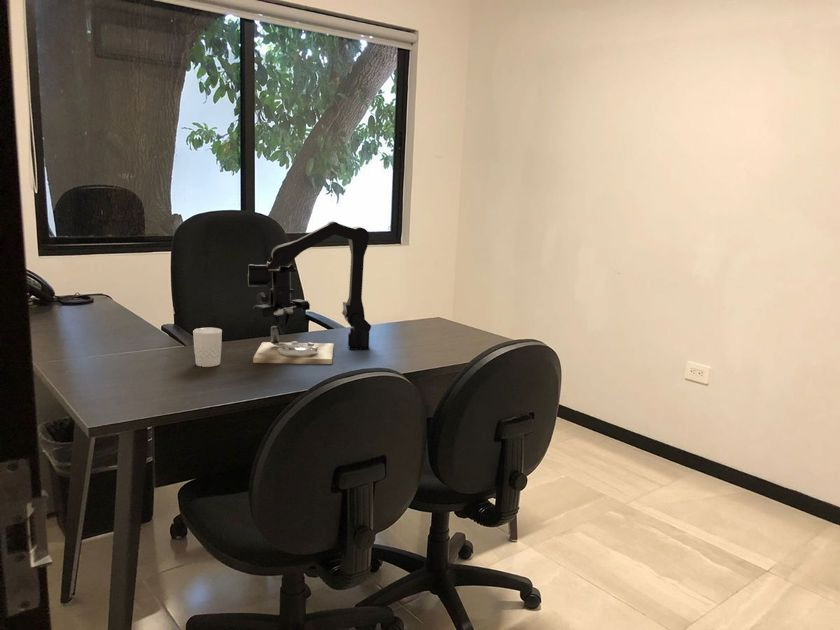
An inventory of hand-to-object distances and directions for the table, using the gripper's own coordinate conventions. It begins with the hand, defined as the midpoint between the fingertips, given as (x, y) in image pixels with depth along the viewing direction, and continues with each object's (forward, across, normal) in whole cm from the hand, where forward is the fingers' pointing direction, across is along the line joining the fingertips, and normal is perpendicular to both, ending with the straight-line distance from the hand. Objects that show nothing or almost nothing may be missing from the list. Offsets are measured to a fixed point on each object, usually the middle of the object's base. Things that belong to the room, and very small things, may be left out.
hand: (282, 334), depth 206 cm
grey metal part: (+3, +3, +8) cm, 9 cm away
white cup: (+5, +27, 0) cm, 27 cm away
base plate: (+5, +1, +8) cm, 9 cm away
